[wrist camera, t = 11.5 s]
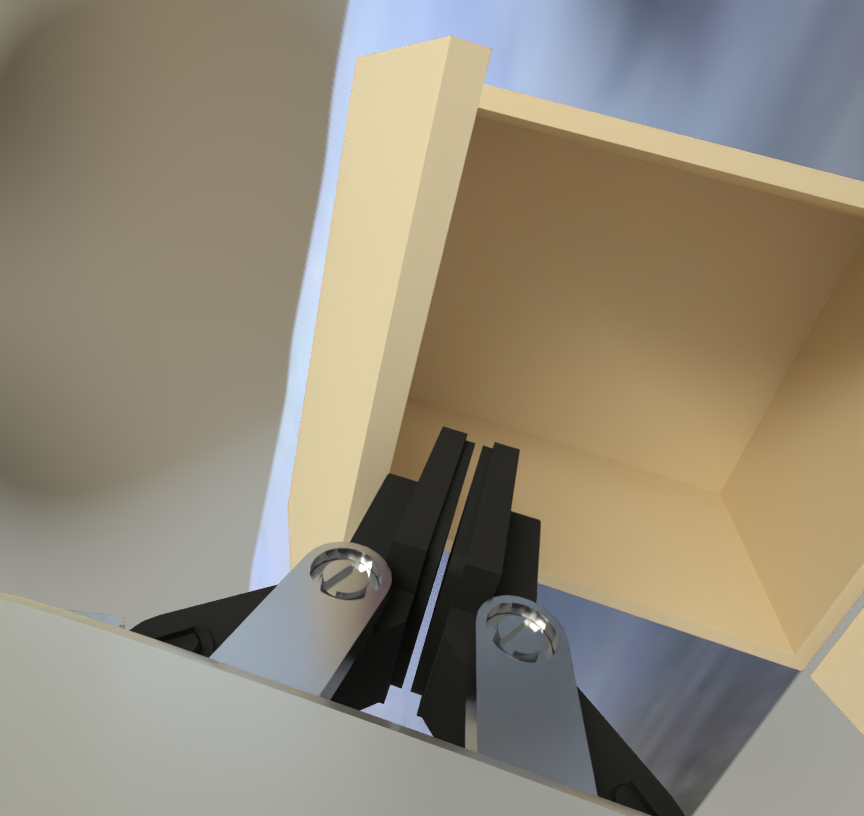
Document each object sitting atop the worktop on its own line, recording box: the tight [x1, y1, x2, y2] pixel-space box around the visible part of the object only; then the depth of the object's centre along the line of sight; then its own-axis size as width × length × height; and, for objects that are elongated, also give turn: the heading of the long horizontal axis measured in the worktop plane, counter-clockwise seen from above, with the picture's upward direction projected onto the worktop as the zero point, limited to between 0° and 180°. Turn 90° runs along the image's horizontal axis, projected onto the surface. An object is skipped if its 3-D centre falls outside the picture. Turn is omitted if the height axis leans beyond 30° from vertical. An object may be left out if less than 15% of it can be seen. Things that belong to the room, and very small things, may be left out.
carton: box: [389, 84, 864, 672], centre depth 24 cm, size 16×20×12 cm
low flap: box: [288, 36, 492, 570], centre depth 15 cm, size 16×10×1 cm
